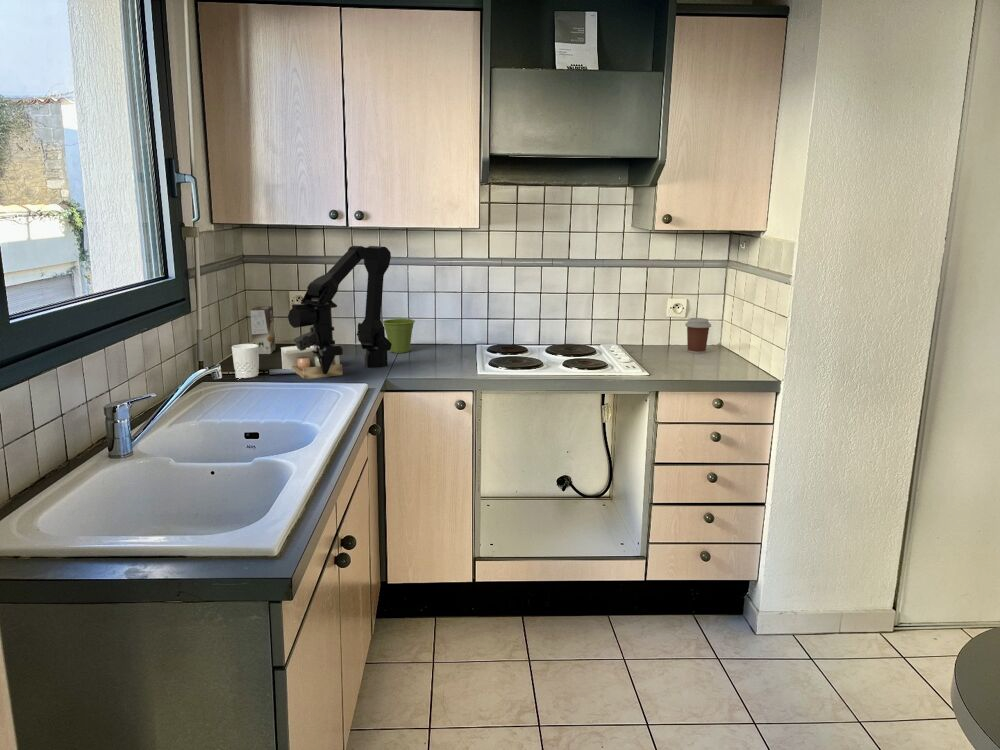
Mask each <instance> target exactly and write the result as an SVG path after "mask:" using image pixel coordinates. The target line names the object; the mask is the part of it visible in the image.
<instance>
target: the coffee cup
mask: <svg viewBox="0 0 1000 750" xmlns="http://www.w3.org/2000/svg"><path fill="white" fill-rule="evenodd" d="M684 325H685V327H686V334H687V335H686V336H687V338H686V339H687V342H686V343H687V344H686V345H687V352H688V353H689V354H690V353H691V354H705V353H706V350H707V344H708V338H709V331H710V328H711V327H712V323H710V322H709V319H708V318H704V317H690V318H688V321H687V322H685V324H684Z"/></svg>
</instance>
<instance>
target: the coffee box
mask: <svg viewBox="0 0 1000 750" xmlns="http://www.w3.org/2000/svg"><path fill="white" fill-rule="evenodd" d="M249 311H250V324H251V325H250V326H251V327H250V328H251V340H252V341H251V342H252V344H257V345H258V347H259V355H271V354H272V353H274V351H275V350H276V338H275V323H274V322H275V321H274V307H273V306H272V305H271V306H267V305H266V306H265V305H264V306H263V305H262V306H255V307H253V308H251V309H250V310H249Z"/></svg>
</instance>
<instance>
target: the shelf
mask: <svg viewBox="0 0 1000 750" xmlns="http://www.w3.org/2000/svg"><path fill="white" fill-rule="evenodd" d="M280 350H281V353H280V354H281V367H282V369H290V370H291V366H295V365H297V358H298V357H310V364H314V356H316V355H315V354H314V353H313V352H311V351H313V350H314V346H310V348H306V349H305V350H302V351H300V350H299V349H298V348H297V346H296V345H294V346H292V345H291V346H283V347H280ZM331 364H332V365H338V364H341V363H340V355H336V356H335V357H334V359H333V361H332V363H331Z"/></svg>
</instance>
